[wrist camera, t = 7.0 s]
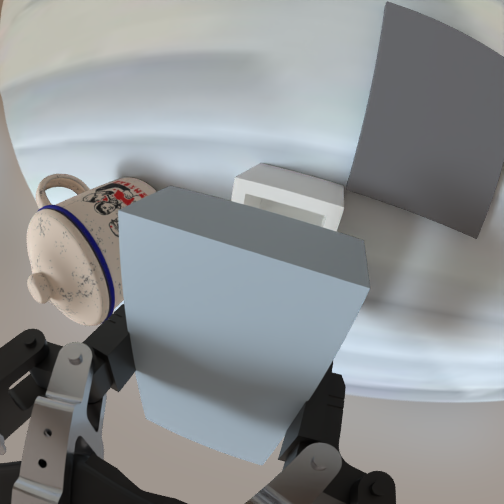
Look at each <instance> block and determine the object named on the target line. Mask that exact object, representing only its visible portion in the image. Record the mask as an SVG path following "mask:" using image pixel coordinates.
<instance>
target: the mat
mask: <svg viewBox="0 0 504 504" xmlns="http://www.w3.org/2000/svg"><path fill="white" fill-rule="evenodd" d="M503 163H504V57H503V56H501V55H500V54H498V53H497V52H495V51H494V50H492V49H490V48H489V47H487V46H485V45H484V44H482V43H480V42H479V41H477V40H475V39H473V38H472V37H470V36H468V35H466V34H464V33H462V32H460V31H458V30H456V29H454V28H452V27H450V26H448V25H446V24H444V23H442V22H440V21H437V20H435V19H433V18H430V17H428V16H426V15H423V14H421V13H418V12H416V11H413V10H410V9H408V8H405V7H402V6H399V5H396V4H393V3H390V2H386V5H385V10H384V17H383V24H382V30H381V37H380V43H379V49H378V54H377V60H376V65H375V70H374V75H373V80H372V85H371V90H370V95H369V99H368V104H367V108H366V113H365V117H364V121H363V125H362V130H361V134H360V138H359V142H358V146H357V149H356V153H355V157H354V161H353V165H352V168H351V172H350V175H349V179H348V183H347V186H346V187H347V190H349V191H352V192H355V193H358V194H361V195H364V196H367V197H370V198H373V199H376V200H379V201H382V202H385V203H388V204H391V205H393V206H396V207H399V208H402V209H404V210H407V211H410V212H412V213H415V214H418V215H420V216H423V217H425V218H428V219H431V220H433V221H436V222H438V223H440V224H443V225H445V226H448V227H450V228H453V229H455V230H457V231H460V232H462V233H464V234H466V235H469V236H471V237H473V238H475V239H477V237H478V235H479V232H480V230H481V227H482V225H483V222H484V220H485V217H486V215H487V212H488V209H489V207H490V204H491V201H492V198H493V195H494V192H495V189H496V186H497V183H498V180H499V177H500V173H501V170H502V166H503Z"/></svg>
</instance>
